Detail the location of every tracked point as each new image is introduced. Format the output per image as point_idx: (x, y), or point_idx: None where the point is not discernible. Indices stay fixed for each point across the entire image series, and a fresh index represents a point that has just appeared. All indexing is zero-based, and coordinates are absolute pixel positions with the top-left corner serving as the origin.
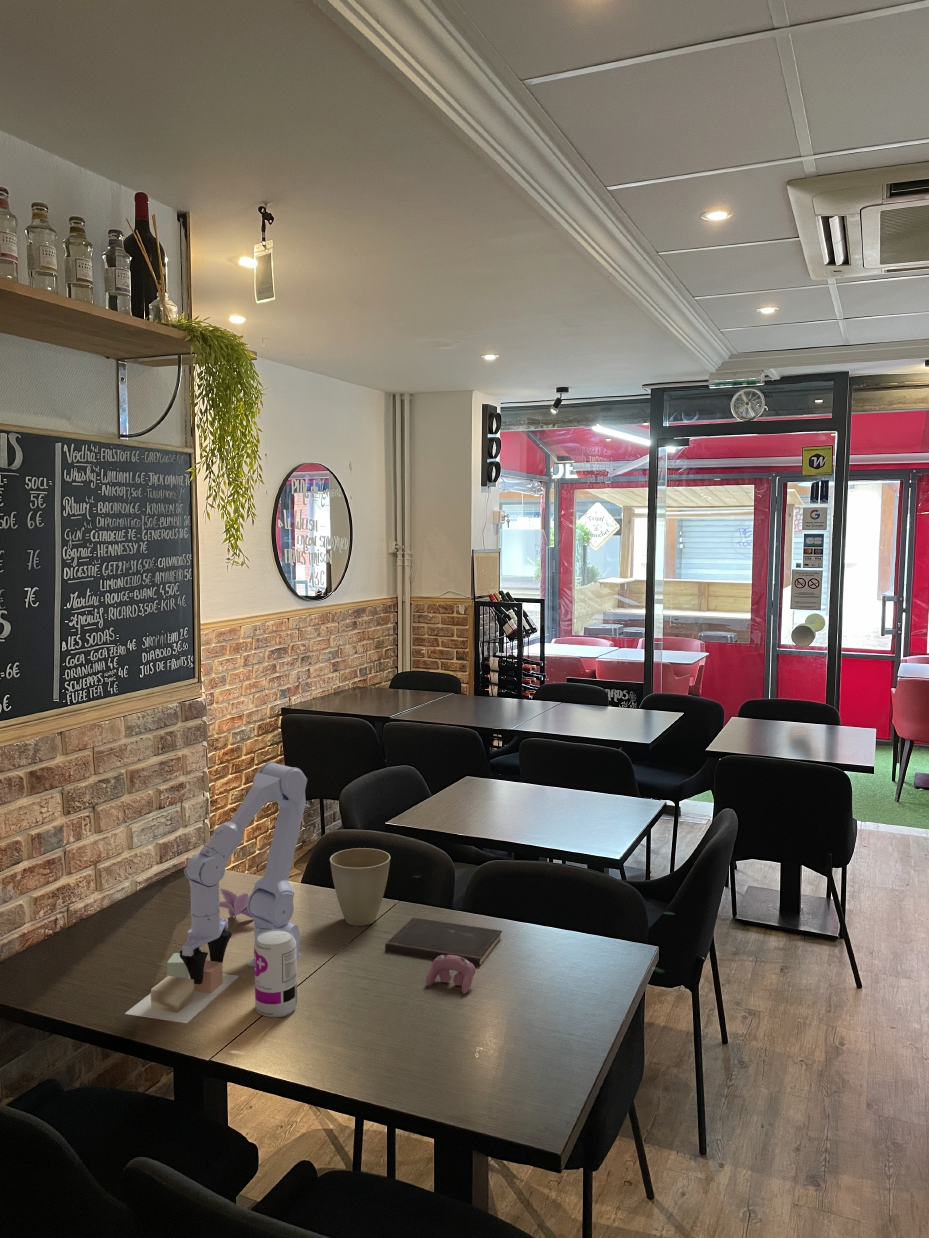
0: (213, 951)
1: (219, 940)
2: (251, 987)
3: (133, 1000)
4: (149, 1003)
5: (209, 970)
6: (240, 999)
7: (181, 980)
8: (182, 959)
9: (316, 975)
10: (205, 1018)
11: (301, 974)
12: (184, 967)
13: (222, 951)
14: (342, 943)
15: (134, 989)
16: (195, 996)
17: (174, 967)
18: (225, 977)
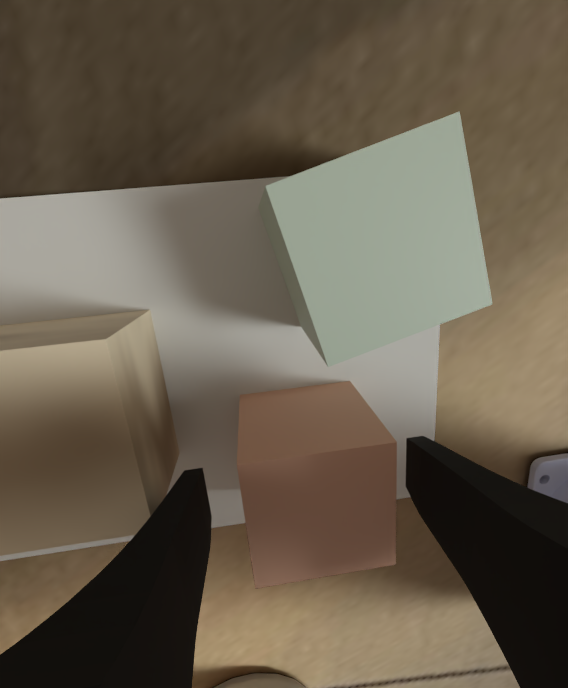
0: (471, 520)
1: (549, 684)
2: (365, 571)
3: (7, 128)
4: (13, 274)
5: (273, 566)
6: (266, 593)
7: (98, 476)
8: (19, 647)
9: (499, 682)
10: (76, 579)
11: (497, 646)
12: (309, 328)
13: (471, 592)
14: None
15: (121, 18)
16: (195, 446)
17: (283, 254)
18: (405, 450)
